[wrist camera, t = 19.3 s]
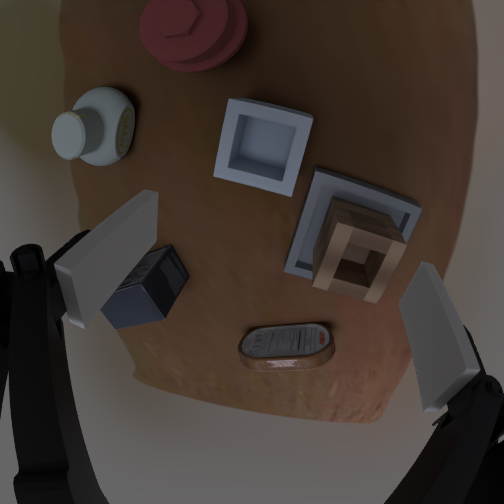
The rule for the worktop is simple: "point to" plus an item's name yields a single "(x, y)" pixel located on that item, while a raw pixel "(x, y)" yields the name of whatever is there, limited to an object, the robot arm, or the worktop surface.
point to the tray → (349, 190)
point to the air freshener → (96, 127)
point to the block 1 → (262, 145)
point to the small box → (147, 290)
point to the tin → (287, 347)
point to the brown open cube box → (356, 251)
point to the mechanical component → (193, 32)
